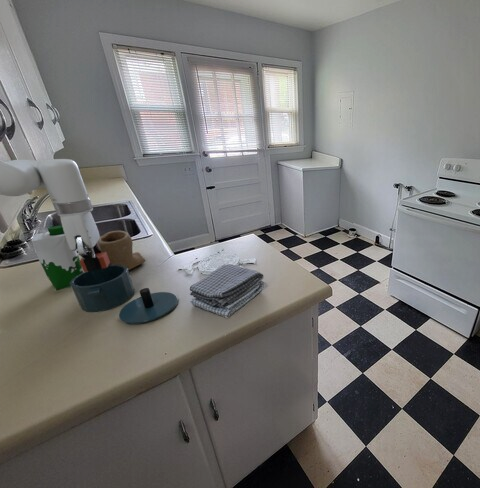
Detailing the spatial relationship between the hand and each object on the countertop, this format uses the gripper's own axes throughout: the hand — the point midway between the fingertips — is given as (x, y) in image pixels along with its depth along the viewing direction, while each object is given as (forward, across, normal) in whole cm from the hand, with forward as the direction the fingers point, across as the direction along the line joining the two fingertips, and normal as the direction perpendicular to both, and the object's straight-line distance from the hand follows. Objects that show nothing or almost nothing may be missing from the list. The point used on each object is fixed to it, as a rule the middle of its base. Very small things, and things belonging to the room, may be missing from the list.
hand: (96, 266), depth 80 cm
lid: (+11, +12, +12) cm, 20 cm away
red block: (0, 0, 0) cm, 0 cm away
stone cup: (+12, -21, +2) cm, 24 cm away
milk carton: (+12, -18, -14) cm, 26 cm away
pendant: (+12, -8, +34) cm, 37 cm away
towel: (+12, +16, +34) cm, 39 cm away
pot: (+12, 0, 0) cm, 12 cm away
